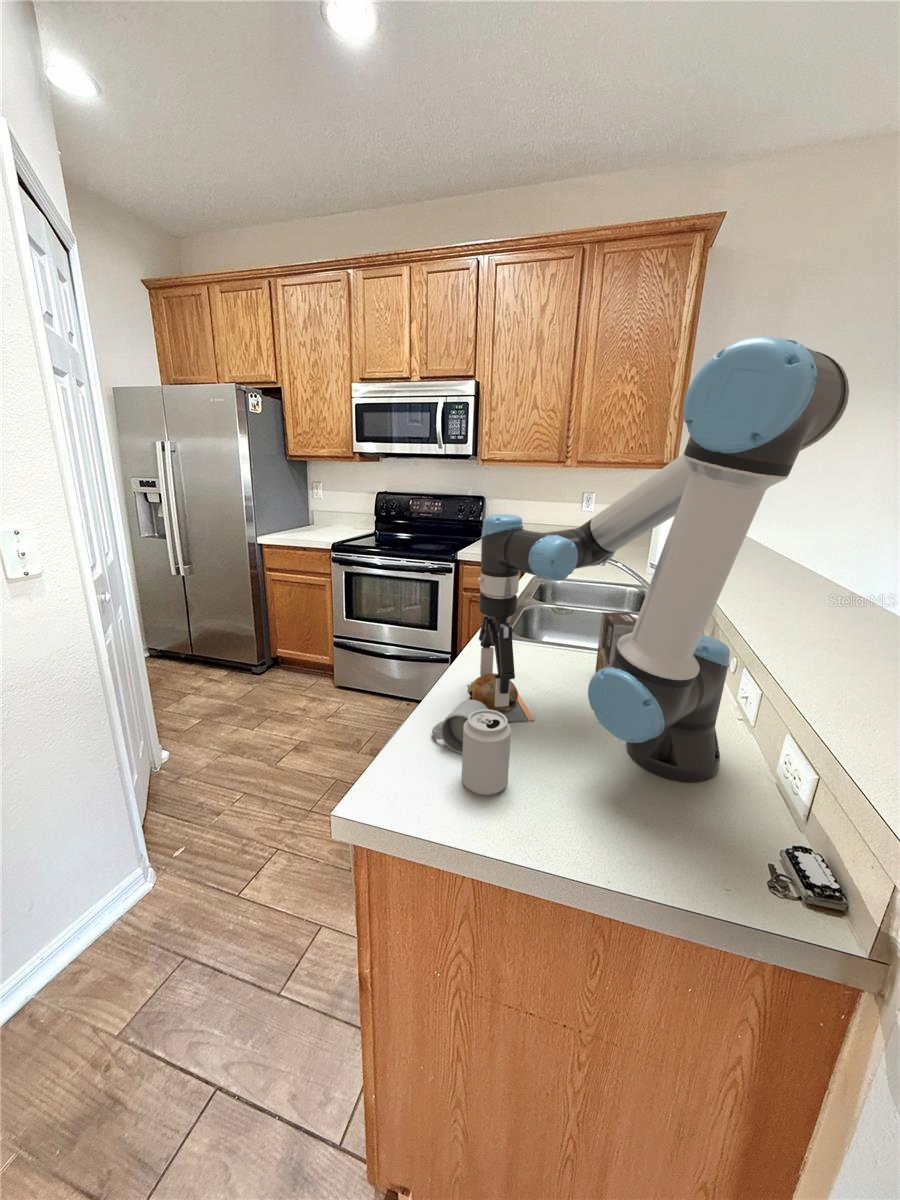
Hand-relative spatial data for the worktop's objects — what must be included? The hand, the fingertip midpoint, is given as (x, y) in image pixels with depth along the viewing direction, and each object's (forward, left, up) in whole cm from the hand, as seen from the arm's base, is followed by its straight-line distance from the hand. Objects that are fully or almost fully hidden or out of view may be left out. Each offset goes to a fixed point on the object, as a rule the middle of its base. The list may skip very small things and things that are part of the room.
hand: (493, 689), depth 103 cm
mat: (0, -1, -3) cm, 3 cm away
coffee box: (+6, -30, -3) cm, 31 cm away
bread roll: (0, 0, -3) cm, 3 cm away
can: (-25, +8, -3) cm, 26 cm away
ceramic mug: (-13, +9, -4) cm, 16 cm away
